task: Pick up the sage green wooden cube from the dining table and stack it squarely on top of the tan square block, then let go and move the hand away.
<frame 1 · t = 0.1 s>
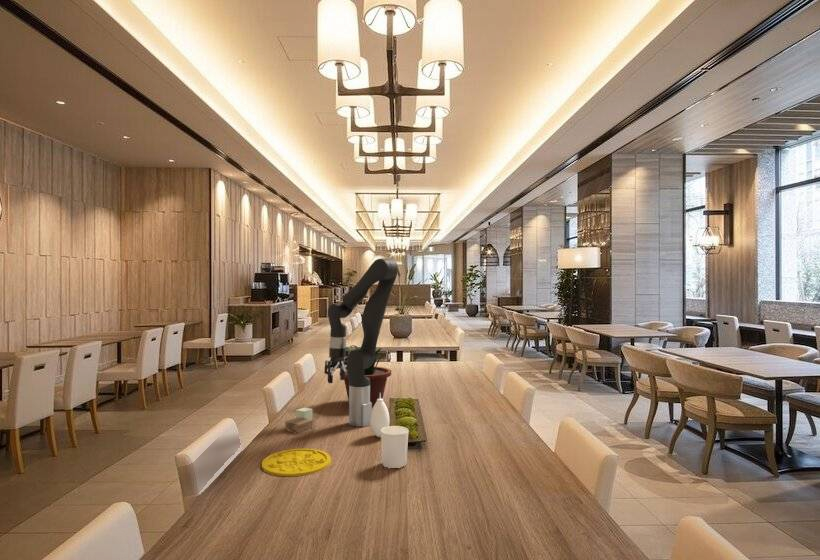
hand: (336, 381, 223), 17 cm above the table, tool pointing down, fingers open, 8 cm apart
candle holder: (394, 465, 168), on the table
potted plant: (359, 404, 249), on the table
sauce bottle: (379, 437, 198), on the table
tan square block: (299, 430, 207), on the table
sage wooden cube: (304, 420, 220), on the table
decorative medallion: (296, 464, 169), on the table
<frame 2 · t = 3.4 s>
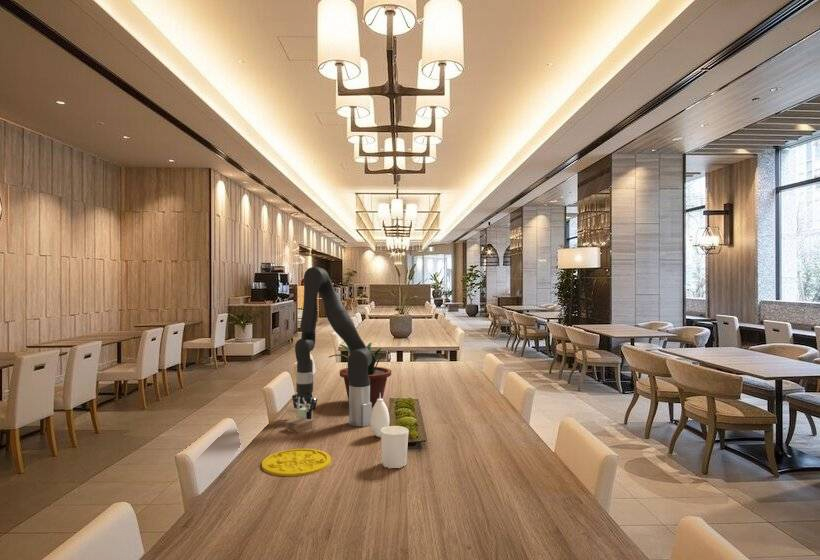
hand: (304, 418, 220), 1 cm above the table, tool pointing down, fingers closed on sage wooden cube, 5 cm apart
sage wooden cube: (304, 420, 220), on the table, touching gripper
everything else where it was.
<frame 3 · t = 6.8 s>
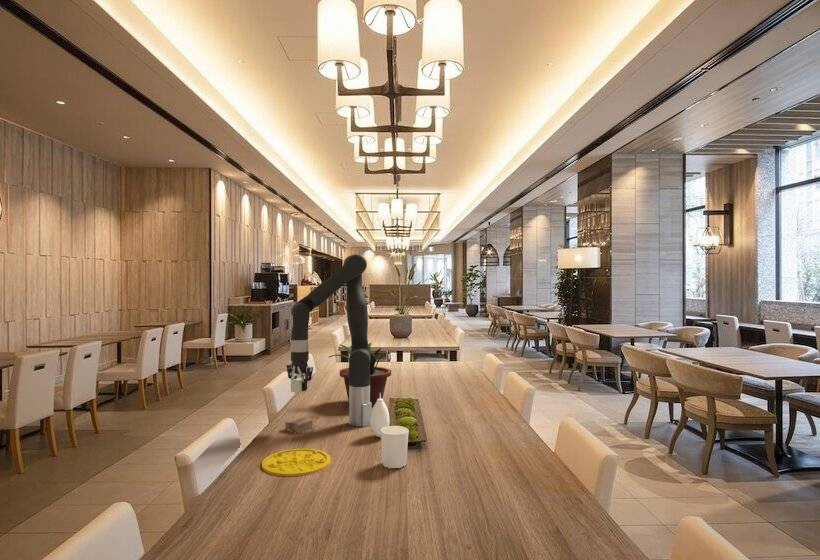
hand: (299, 389, 207), 17 cm above the table, tool pointing down, fingers closed on sage wooden cube, 5 cm apart
sage wooden cube: (299, 391, 207), point 16 cm above the table, touching gripper
everything else where it was.
when the fingers open (5 cm above the table, at t = 10.2 s): sage wooden cube drops 1 cm, resting on tan square block.
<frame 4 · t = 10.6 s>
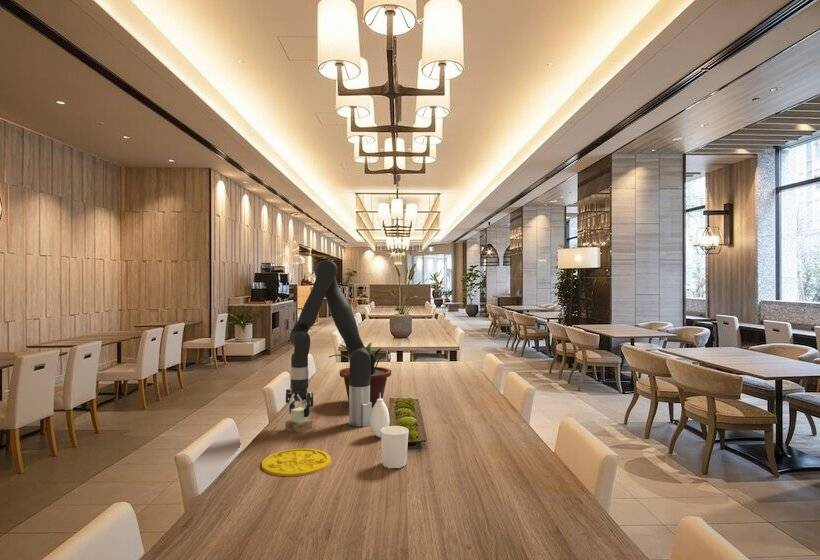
hand: (299, 415, 207), 6 cm above the table, tool pointing down, fingers open, 8 cm apart
tan square block: (298, 430, 207), on the table, touching sage wooden cube
sage wooden cube: (299, 420, 207), point 4 cm above the table, touching tan square block
everything else where it was.
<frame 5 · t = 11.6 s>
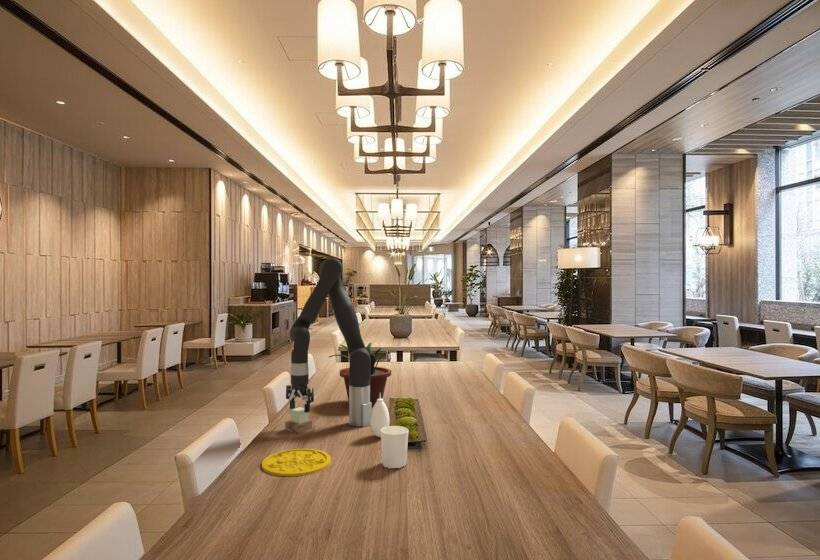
hand: (299, 410, 206), 8 cm above the table, tool pointing down, fingers open, 8 cm apart
nothing on the table moved.
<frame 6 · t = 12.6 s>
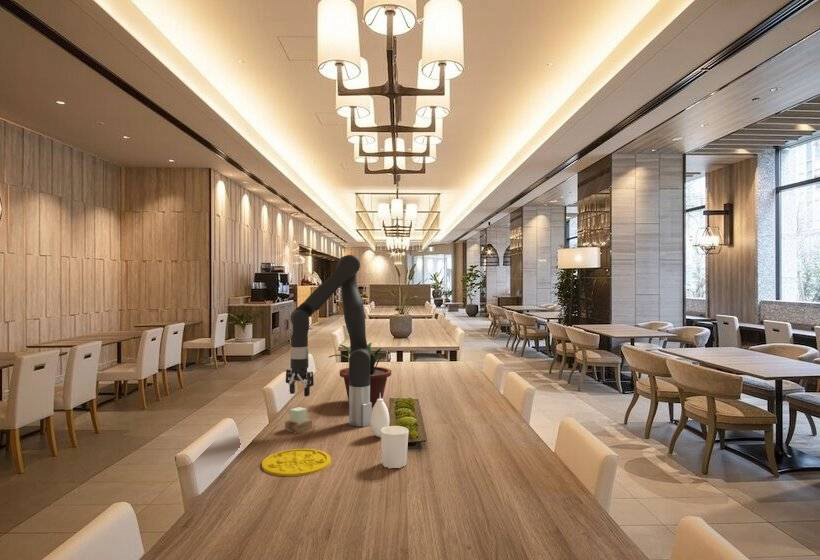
hand: (299, 394, 207), 15 cm above the table, tool pointing down, fingers open, 8 cm apart
tan square block: (298, 430, 207), on the table
sage wooden cube: (298, 420, 207), point 4 cm above the table
everything else where it was.
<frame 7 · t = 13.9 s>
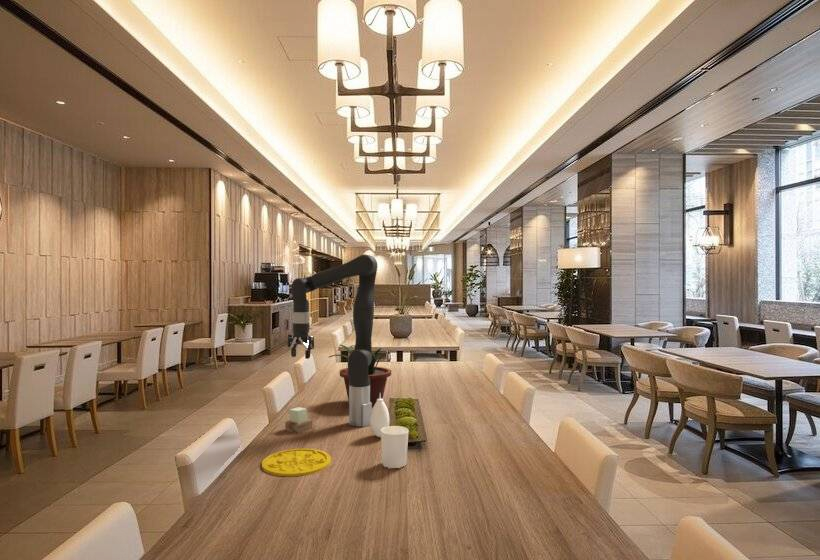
hand: (300, 357, 220), 28 cm above the table, tool pointing down, fingers open, 8 cm apart
tan square block: (298, 430, 207), on the table, touching sage wooden cube
sage wooden cube: (298, 420, 207), point 4 cm above the table, touching tan square block
everything else where it was.
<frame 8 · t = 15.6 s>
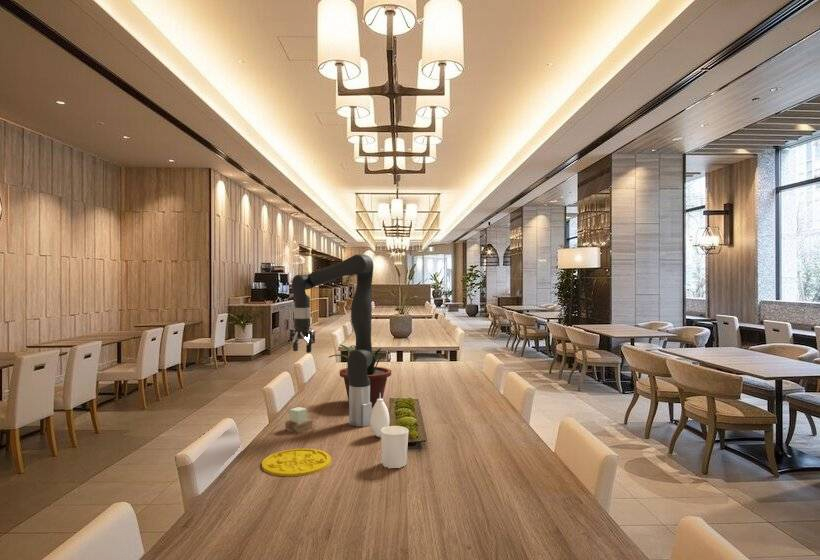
hand: (301, 351, 227), 30 cm above the table, tool pointing down, fingers open, 8 cm apart
nothing on the table moved.
at the end: sage wooden cube 0.3 cm off-centre on the tan square block, point 4.0 cm above the tan square block's base; sage wooden cube tilted 0°; the gripper is holding nothing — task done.
